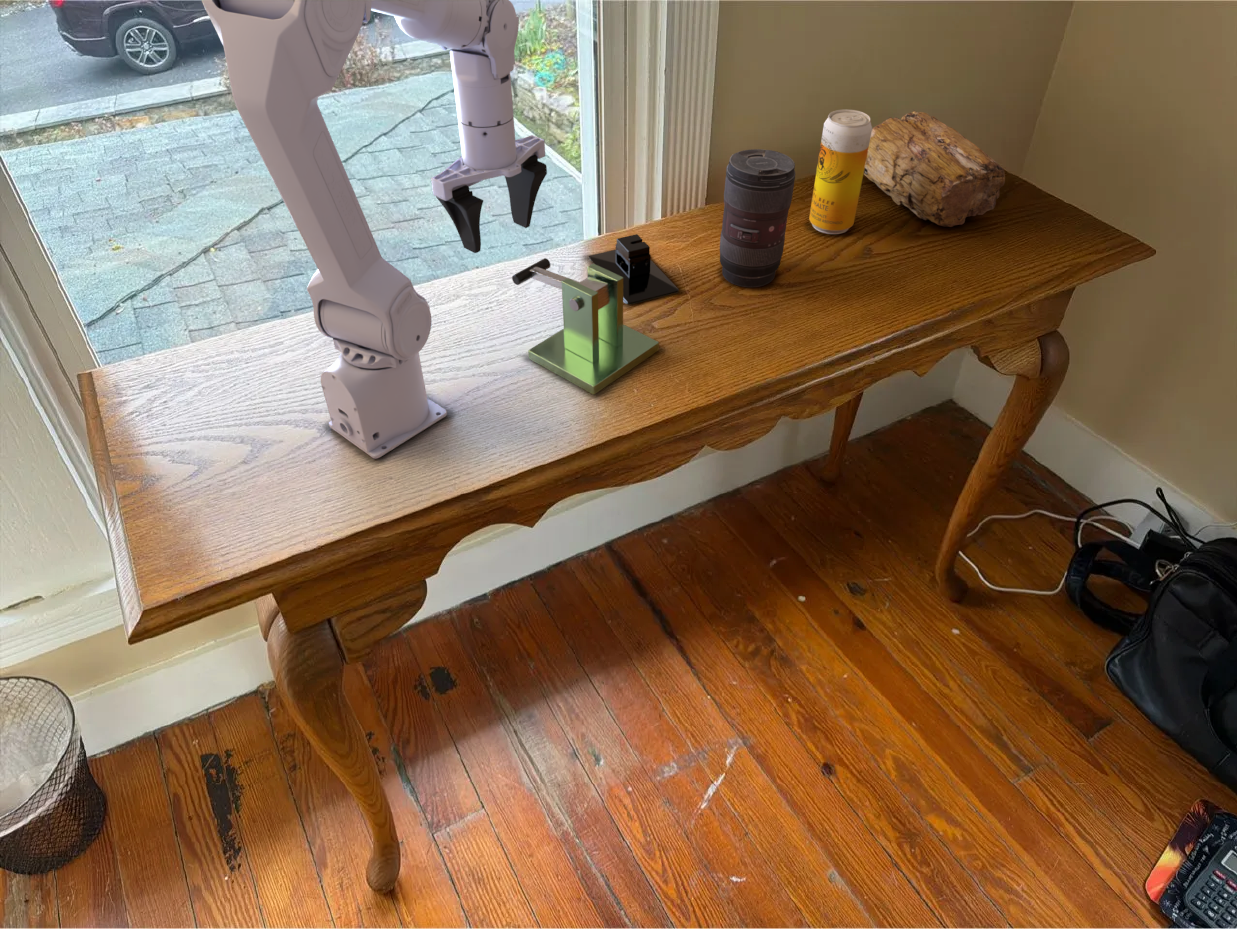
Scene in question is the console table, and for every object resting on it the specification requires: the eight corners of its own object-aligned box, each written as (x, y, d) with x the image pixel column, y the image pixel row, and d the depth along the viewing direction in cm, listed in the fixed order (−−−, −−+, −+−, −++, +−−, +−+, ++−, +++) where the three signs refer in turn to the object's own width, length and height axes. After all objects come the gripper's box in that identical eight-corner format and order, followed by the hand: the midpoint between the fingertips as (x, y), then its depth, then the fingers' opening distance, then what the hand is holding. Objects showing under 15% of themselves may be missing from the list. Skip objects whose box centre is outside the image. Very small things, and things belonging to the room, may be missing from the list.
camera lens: (792, 283, 114) (810, 169, 103) (735, 296, 111) (747, 181, 101) (761, 253, 119) (775, 142, 109) (706, 264, 117) (715, 152, 107)
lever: (513, 288, 102) (510, 269, 100) (544, 271, 105) (542, 252, 103) (587, 317, 95) (585, 296, 94) (618, 297, 98) (617, 277, 97)
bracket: (528, 358, 102) (522, 283, 95) (594, 318, 108) (592, 244, 101) (593, 395, 97) (592, 318, 90) (658, 350, 103) (661, 275, 96)
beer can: (800, 218, 126) (816, 111, 116) (839, 212, 127) (859, 105, 117) (820, 239, 122) (839, 129, 112) (860, 232, 123) (882, 123, 113)
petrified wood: (1006, 219, 125) (1016, 154, 118) (923, 253, 124) (927, 190, 116) (926, 158, 138) (930, 96, 130) (850, 188, 137) (850, 127, 129)
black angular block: (679, 293, 112) (681, 260, 109) (626, 306, 110) (626, 273, 107) (636, 246, 120) (637, 214, 117) (586, 258, 118) (585, 226, 115)
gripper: (457, 149, 87) (472, 273, 96) (562, 106, 95) (567, 224, 104) (410, 129, 90) (429, 251, 99) (516, 89, 98) (524, 205, 107)
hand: (497, 236), depth 102 cm, fingers open, 7 cm apart
